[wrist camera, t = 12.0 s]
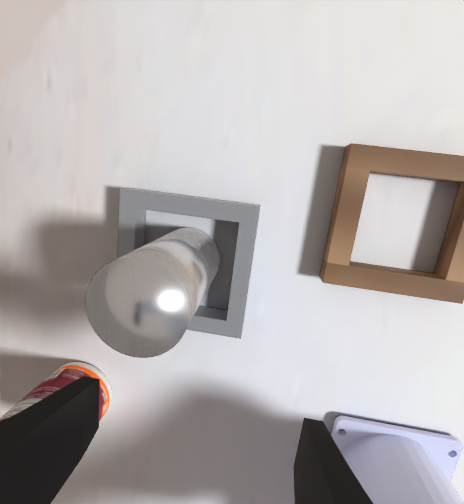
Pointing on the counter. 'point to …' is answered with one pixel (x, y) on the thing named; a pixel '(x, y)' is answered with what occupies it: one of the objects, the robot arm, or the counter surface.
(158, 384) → the counter surface
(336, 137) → the counter surface
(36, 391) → the pill bottle
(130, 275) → the grey thick round cylinder
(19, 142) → the counter surface
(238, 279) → the frame
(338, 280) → the socket frame
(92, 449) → the counter surface
